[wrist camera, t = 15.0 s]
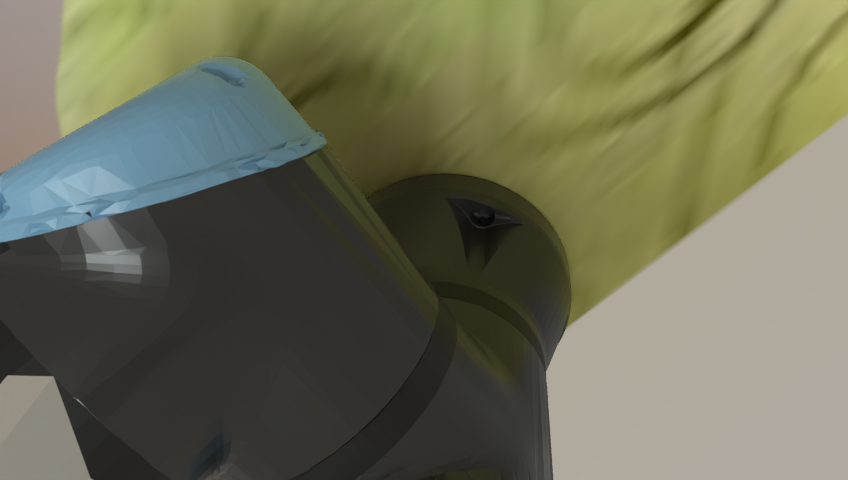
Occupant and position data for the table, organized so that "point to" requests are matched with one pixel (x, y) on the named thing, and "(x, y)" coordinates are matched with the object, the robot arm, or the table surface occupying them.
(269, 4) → the table surface
